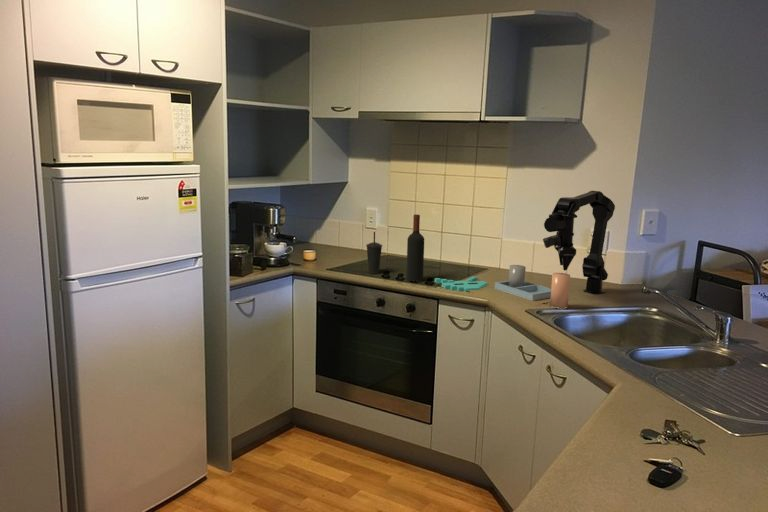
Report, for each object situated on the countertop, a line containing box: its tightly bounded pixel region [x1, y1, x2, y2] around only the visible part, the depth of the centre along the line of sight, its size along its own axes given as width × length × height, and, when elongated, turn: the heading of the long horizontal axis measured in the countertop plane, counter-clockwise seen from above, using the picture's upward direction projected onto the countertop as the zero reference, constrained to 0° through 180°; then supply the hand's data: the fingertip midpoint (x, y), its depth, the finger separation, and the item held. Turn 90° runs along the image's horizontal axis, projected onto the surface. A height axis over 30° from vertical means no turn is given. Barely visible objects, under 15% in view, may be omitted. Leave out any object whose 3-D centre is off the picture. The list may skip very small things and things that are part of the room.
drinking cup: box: [366, 231, 383, 275], centre depth 280 cm, size 8×8×20 cm
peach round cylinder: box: [549, 272, 571, 308], centre depth 230 cm, size 7×7×13 cm
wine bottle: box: [405, 214, 425, 283], centre depth 267 cm, size 8×8×30 cm
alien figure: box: [434, 276, 489, 293], centre depth 261 cm, size 20×2×20 cm
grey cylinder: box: [508, 264, 526, 288], centre depth 252 cm, size 7×7×10 cm
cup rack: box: [494, 280, 551, 301], centre depth 249 cm, size 14×22×4 cm, turn 32°
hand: (563, 267), depth 239 cm, fingers open, 9 cm apart
